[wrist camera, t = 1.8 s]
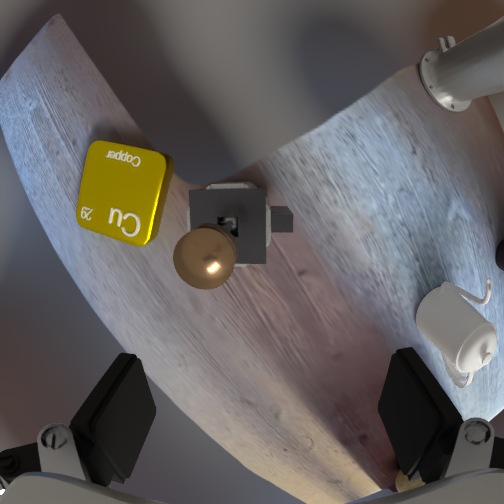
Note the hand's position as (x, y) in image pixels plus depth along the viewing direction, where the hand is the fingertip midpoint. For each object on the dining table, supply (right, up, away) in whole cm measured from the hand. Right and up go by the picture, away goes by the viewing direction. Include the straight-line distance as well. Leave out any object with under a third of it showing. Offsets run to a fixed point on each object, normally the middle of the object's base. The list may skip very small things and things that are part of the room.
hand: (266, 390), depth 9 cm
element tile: (-22, +15, +35) cm, 44 cm away
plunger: (-3, +8, +23) cm, 24 cm away
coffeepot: (+36, -6, +38) cm, 52 cm away
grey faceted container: (-1, +11, +34) cm, 36 cm away
